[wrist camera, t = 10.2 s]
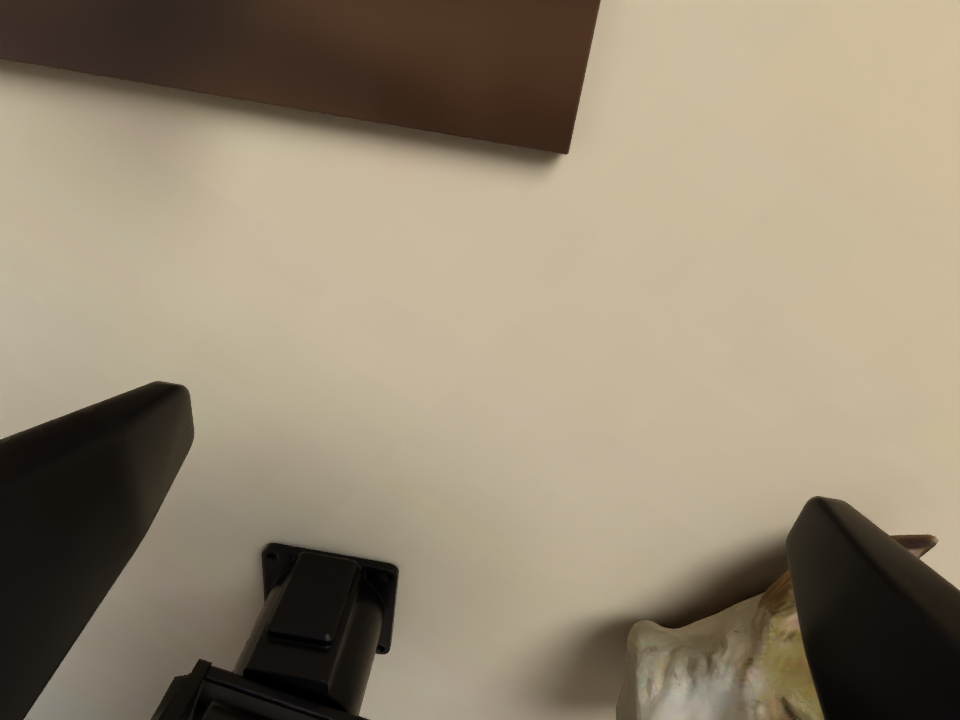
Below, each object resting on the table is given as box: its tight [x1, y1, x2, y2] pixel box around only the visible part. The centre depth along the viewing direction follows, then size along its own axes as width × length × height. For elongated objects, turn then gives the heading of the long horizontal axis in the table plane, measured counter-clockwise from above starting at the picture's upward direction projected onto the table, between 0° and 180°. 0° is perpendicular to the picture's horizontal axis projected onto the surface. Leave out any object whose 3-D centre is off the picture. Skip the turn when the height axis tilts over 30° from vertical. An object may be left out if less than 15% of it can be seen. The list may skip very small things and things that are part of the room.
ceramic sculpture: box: [616, 535, 938, 720], centre depth 25 cm, size 11×9×15 cm
